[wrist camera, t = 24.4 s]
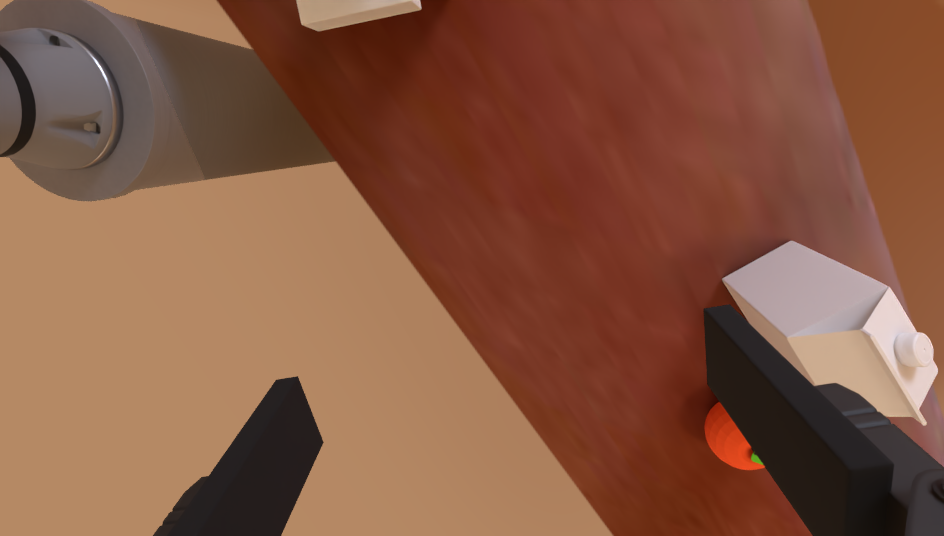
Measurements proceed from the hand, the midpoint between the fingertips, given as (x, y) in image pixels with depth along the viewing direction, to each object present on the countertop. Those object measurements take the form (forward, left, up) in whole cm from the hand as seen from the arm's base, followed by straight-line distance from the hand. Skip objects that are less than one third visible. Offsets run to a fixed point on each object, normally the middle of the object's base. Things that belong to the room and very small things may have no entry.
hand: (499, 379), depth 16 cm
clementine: (+13, -27, -37) cm, 47 cm away
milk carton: (+19, -14, -37) cm, 44 cm away
